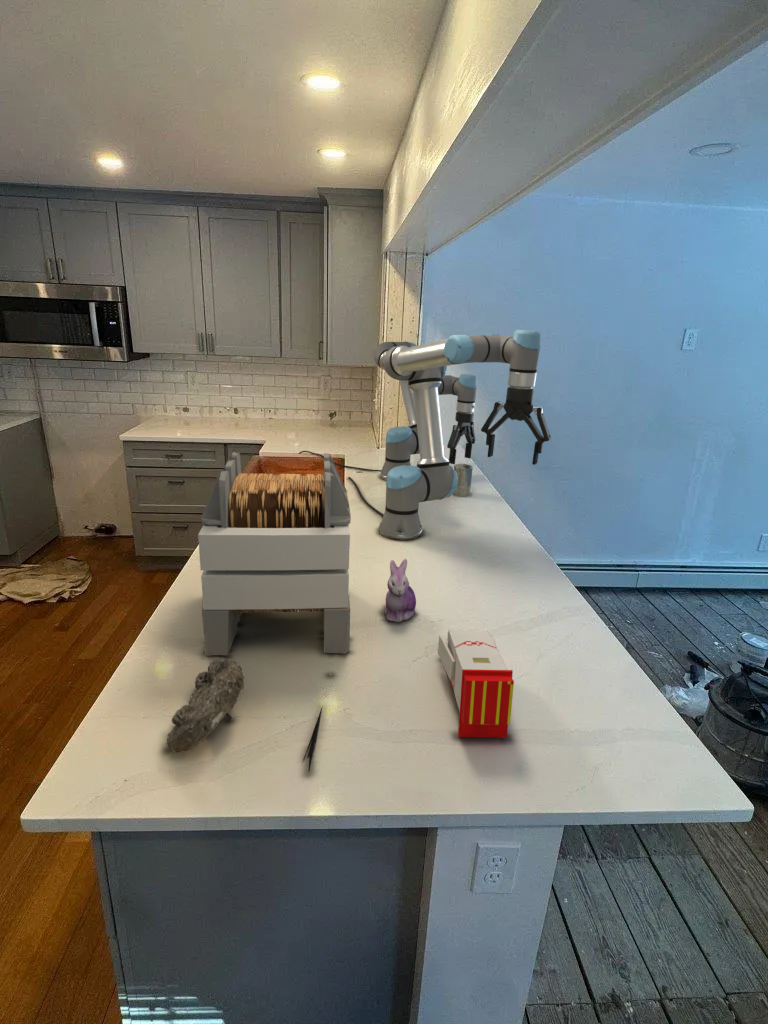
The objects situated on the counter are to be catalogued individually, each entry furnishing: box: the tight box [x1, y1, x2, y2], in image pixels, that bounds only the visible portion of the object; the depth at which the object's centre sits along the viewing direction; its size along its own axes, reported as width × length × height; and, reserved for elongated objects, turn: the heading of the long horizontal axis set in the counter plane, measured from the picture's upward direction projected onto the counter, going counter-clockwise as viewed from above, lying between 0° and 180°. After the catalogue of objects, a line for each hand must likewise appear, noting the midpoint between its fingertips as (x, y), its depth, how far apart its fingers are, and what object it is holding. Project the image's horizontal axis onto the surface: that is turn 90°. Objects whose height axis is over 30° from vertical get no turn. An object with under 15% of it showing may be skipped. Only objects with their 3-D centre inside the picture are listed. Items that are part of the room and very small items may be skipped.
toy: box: [437, 628, 515, 738], centre depth 117 cm, size 12×13×30 cm
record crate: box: [197, 451, 352, 657], centre depth 136 cm, size 34×33×41 cm
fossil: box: [166, 658, 245, 754], centre depth 106 cm, size 22×10×15 cm
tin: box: [452, 463, 474, 497], centre depth 245 cm, size 8×8×12 cm
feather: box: [301, 673, 332, 771], centre depth 108 cm, size 2×28×2 cm
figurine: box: [384, 558, 417, 623], centre depth 145 cm, size 9×10×15 cm
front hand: (512, 460), depth 168 cm, fingers open, 13 cm apart
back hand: (459, 460), depth 247 cm, fingers open, 13 cm apart
